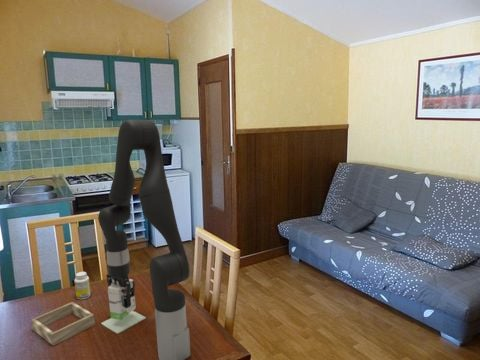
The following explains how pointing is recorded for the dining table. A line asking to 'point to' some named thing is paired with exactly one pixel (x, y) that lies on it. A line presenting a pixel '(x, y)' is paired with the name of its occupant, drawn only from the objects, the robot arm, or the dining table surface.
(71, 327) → the frame
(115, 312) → the ink box
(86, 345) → the dining table surface
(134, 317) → the sage mat
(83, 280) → the supplement bottle
